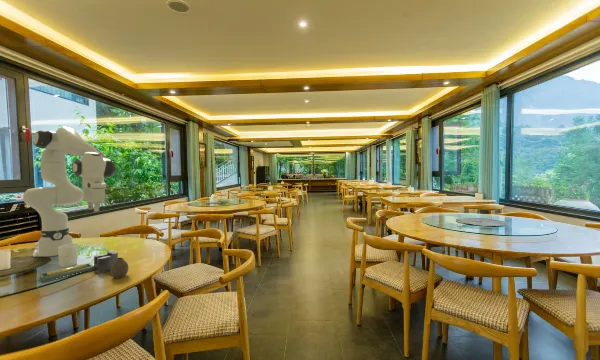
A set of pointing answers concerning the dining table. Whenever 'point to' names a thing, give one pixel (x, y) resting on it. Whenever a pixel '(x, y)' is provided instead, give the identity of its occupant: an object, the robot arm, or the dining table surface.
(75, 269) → the hitch pin
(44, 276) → the tray
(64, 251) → the white cup
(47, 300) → the dining table surface
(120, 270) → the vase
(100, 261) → the hitch block
